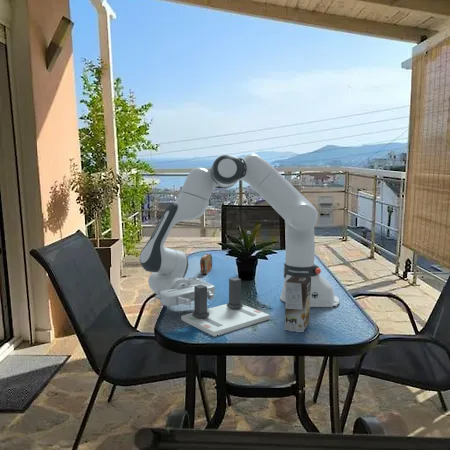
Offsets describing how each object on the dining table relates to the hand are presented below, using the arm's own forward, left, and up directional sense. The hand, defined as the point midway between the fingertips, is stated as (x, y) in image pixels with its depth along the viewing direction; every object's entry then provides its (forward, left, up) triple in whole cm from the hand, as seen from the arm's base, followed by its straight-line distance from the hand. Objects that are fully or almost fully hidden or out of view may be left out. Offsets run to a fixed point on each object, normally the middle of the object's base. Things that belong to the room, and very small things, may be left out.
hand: (201, 299), depth 142 cm
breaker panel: (-8, -3, -7) cm, 11 cm away
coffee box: (-32, -1, -8) cm, 33 cm away
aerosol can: (-7, -70, -8) cm, 71 cm away
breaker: (-10, -12, -6) cm, 16 cm away
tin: (+13, -65, -8) cm, 67 cm away
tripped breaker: (0, 0, -6) cm, 6 cm away
